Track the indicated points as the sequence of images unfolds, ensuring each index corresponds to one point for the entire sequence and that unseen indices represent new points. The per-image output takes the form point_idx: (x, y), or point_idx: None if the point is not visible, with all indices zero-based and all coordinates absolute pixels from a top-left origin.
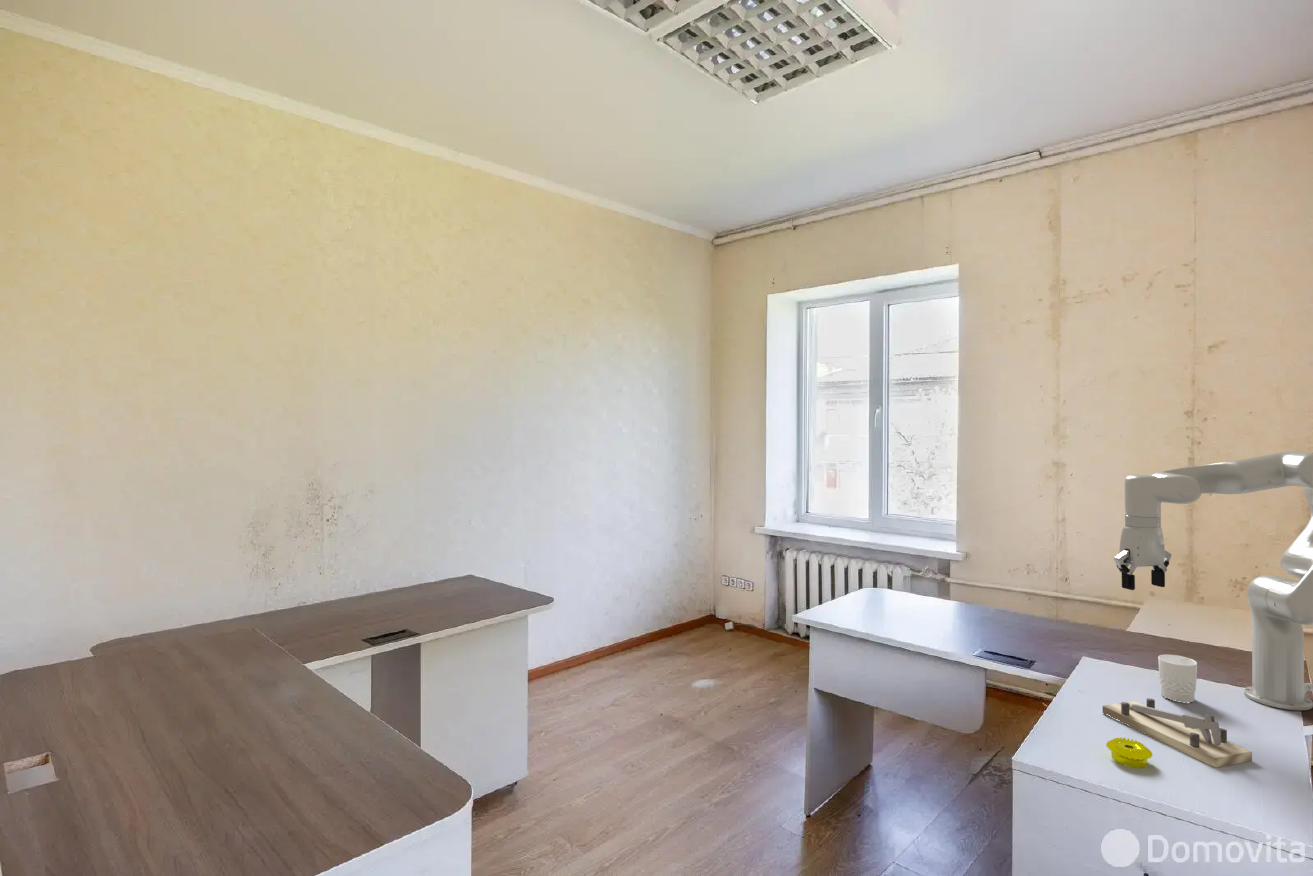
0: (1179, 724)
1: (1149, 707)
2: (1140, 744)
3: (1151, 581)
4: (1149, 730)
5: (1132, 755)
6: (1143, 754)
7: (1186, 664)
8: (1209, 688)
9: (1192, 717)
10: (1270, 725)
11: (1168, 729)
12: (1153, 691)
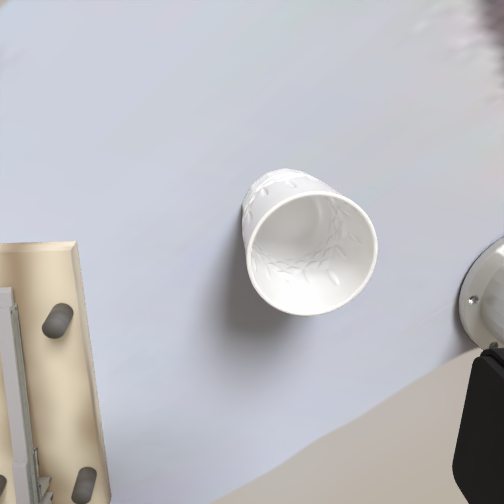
0: (63, 396)
1: (13, 357)
2: None
3: (497, 380)
4: None
5: None
6: None
7: (361, 239)
8: (456, 177)
9: (16, 491)
10: (336, 389)
11: (5, 411)
12: (262, 147)
